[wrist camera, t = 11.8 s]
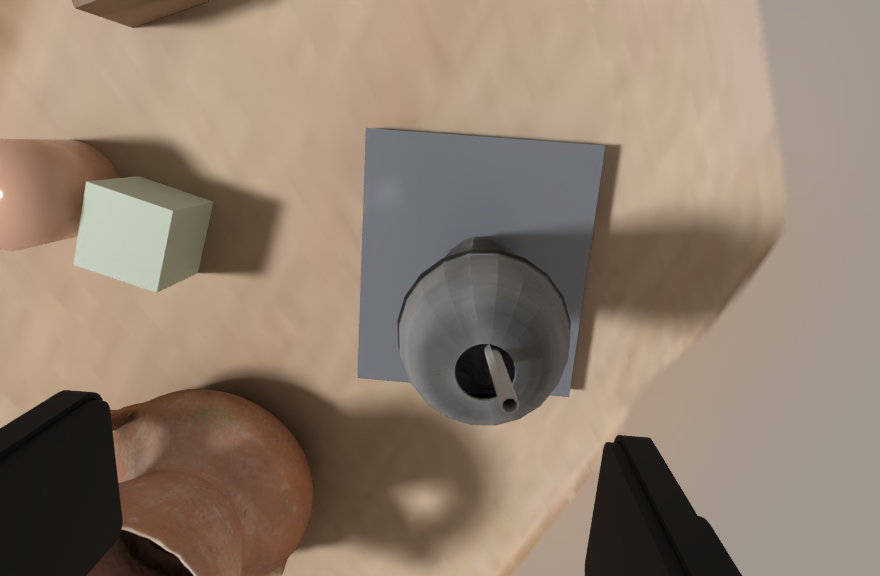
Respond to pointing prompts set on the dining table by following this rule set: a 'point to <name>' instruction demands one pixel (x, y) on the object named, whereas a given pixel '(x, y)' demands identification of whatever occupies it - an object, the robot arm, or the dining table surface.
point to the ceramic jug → (206, 488)
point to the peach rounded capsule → (45, 189)
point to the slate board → (469, 221)
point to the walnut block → (134, 9)
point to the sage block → (141, 232)
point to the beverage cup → (484, 334)
